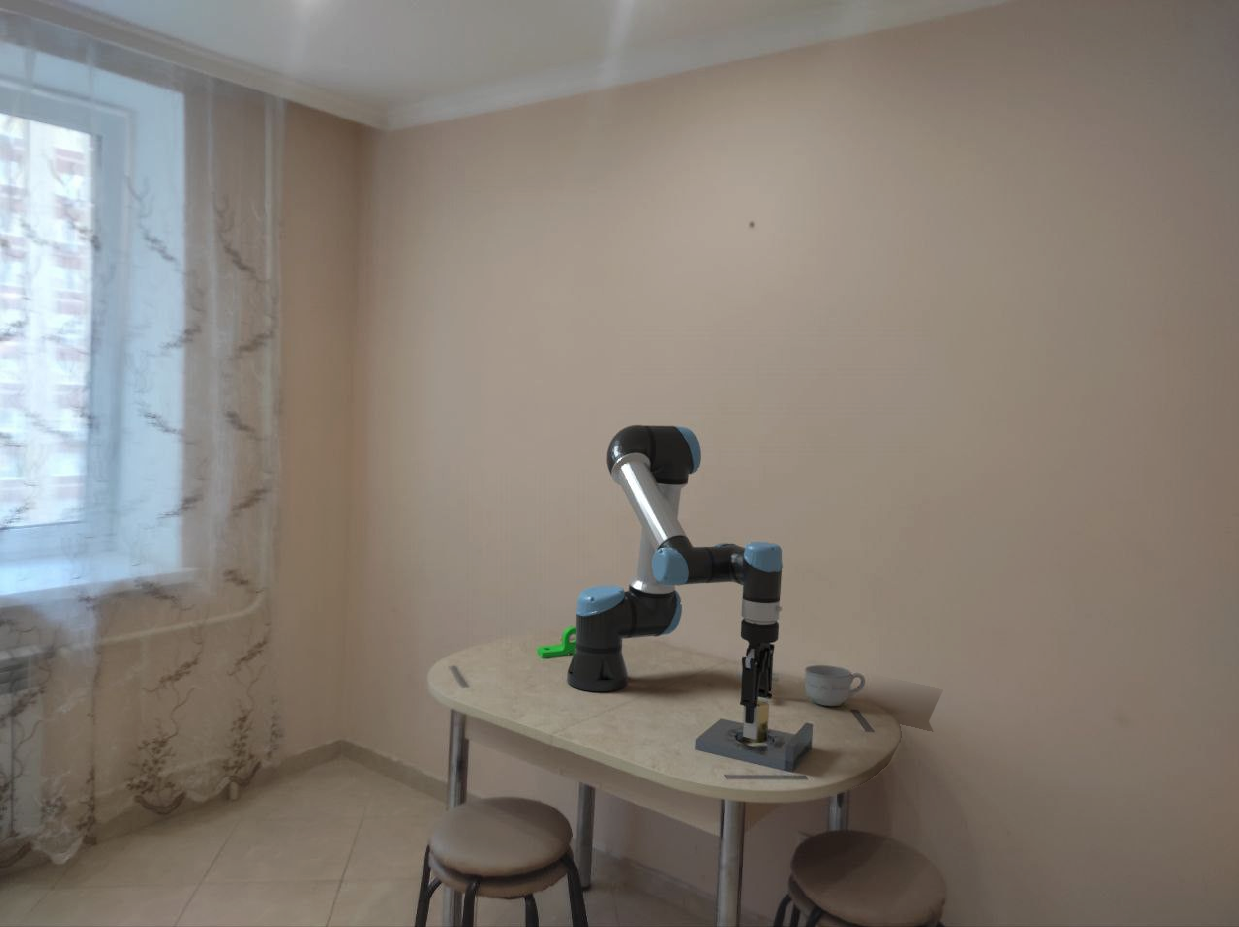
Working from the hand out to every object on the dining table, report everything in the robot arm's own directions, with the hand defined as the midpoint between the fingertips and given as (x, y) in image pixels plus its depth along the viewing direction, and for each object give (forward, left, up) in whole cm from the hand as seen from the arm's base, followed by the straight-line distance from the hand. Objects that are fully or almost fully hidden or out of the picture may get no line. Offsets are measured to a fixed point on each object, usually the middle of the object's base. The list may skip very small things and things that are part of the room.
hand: (754, 732), depth 169 cm
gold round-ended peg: (0, 0, -1) cm, 1 cm away
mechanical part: (-68, +33, -4) cm, 75 cm away
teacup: (+7, +37, -3) cm, 38 cm away
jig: (0, 0, -3) cm, 3 cm away
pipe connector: (-10, +31, -3) cm, 33 cm away
